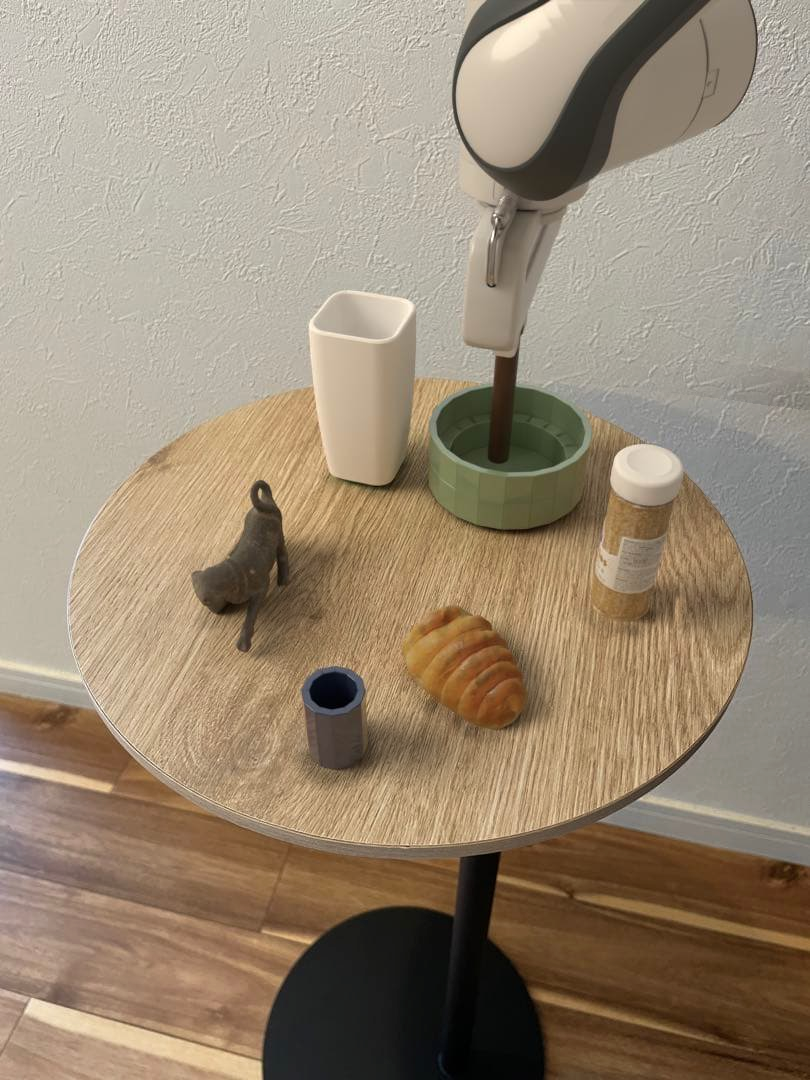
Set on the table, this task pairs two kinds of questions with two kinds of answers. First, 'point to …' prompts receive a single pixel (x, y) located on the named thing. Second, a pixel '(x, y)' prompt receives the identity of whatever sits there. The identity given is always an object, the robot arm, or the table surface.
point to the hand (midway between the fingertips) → (509, 341)
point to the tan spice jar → (634, 530)
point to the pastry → (466, 667)
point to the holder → (335, 717)
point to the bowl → (534, 459)
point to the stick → (502, 407)
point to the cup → (364, 383)
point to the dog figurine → (248, 564)
